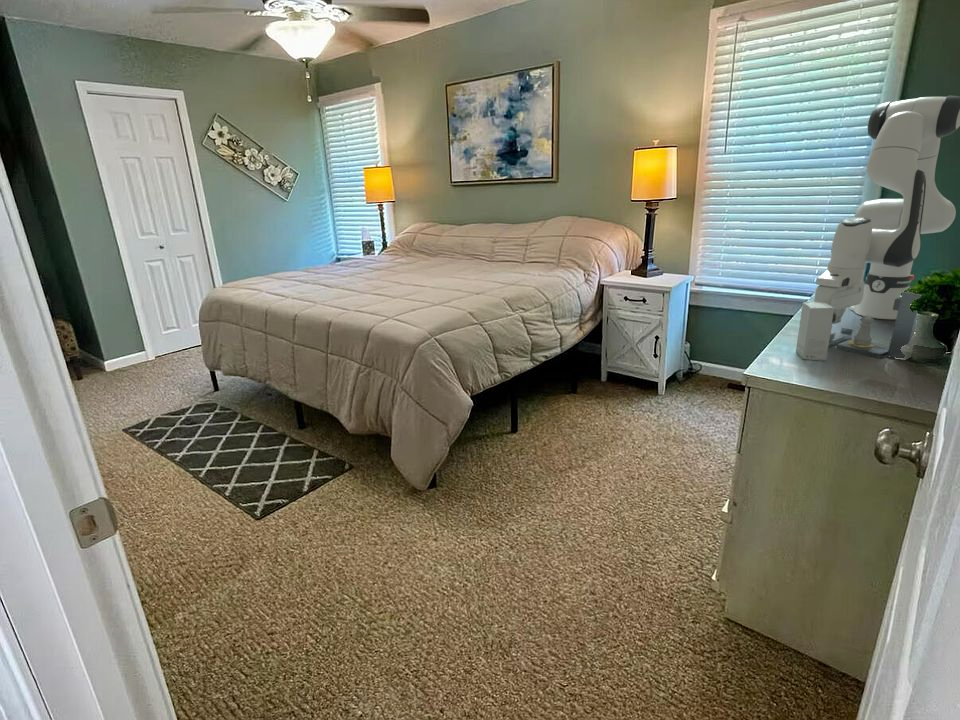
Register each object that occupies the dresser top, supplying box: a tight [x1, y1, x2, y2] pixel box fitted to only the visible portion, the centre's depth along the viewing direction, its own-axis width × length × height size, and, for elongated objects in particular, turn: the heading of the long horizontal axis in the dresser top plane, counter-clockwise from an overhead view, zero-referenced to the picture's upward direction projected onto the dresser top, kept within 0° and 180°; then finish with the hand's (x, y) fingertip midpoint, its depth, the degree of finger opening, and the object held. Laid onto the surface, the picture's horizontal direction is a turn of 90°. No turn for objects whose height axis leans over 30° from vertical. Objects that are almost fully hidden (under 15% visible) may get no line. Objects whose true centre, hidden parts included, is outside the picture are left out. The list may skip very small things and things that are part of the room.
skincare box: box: [795, 301, 834, 362], centre depth 141 cm, size 8×6×15 cm
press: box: [828, 291, 922, 359], centre depth 143 cm, size 15×20×18 cm
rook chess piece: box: [853, 315, 875, 345], centre depth 145 cm, size 4×4×8 cm
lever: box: [829, 314, 836, 341], centre depth 149 cm, size 4×3×8 cm
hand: (834, 322), depth 151 cm, fingers closed
